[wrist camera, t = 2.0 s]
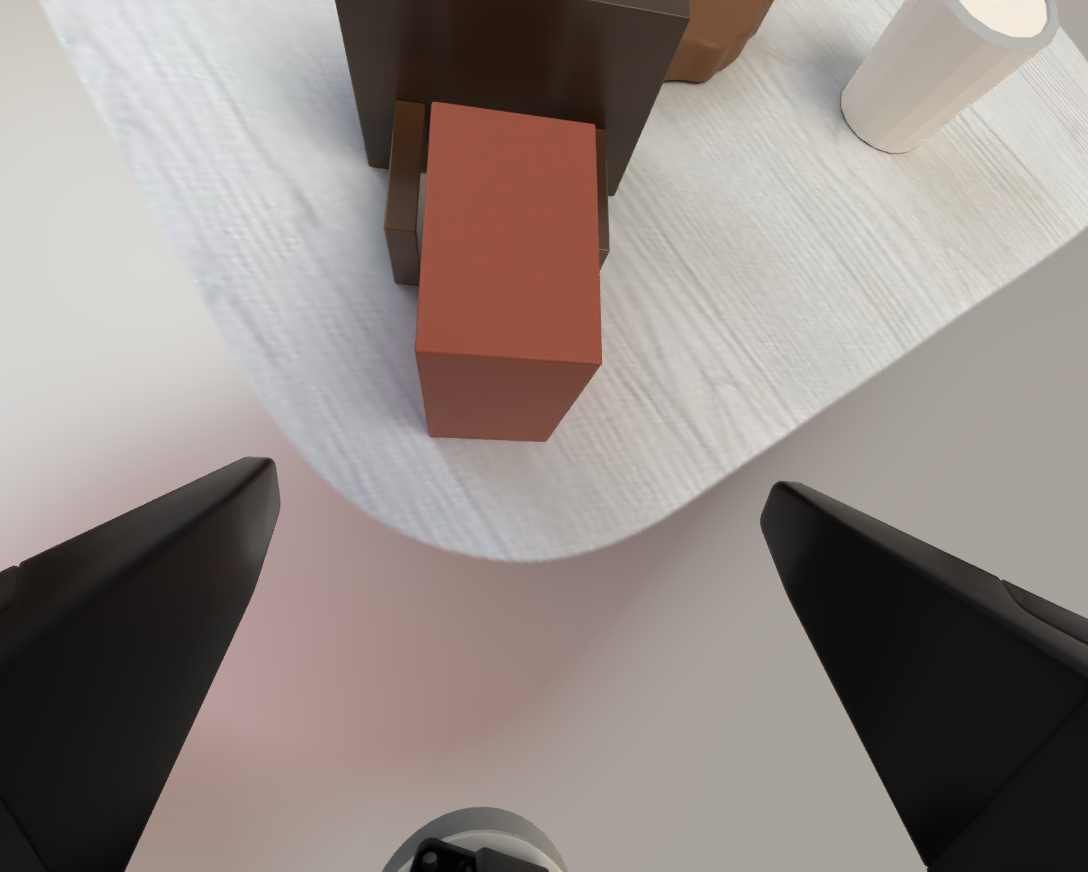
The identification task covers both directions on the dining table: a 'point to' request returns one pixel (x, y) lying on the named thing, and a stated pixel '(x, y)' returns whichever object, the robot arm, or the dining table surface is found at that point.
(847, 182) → the dining table surface
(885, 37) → the shot glass
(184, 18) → the dining table surface
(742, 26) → the plant
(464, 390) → the orange rectangular block
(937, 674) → the robot arm
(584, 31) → the dock
